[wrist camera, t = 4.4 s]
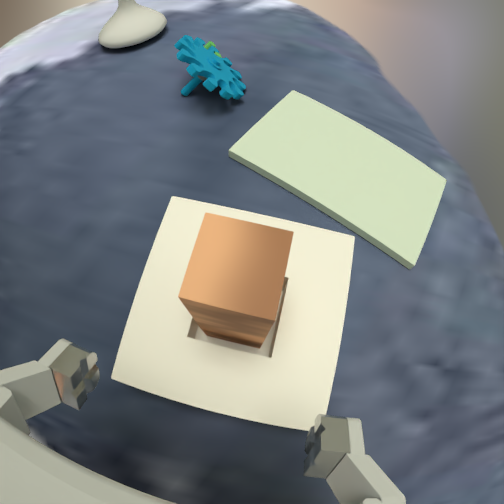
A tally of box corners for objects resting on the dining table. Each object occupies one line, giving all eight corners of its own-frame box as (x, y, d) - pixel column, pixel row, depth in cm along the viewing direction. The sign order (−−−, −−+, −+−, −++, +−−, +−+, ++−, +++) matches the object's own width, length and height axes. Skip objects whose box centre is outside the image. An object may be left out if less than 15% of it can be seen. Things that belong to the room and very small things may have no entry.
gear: (252, 107, 31) (177, 52, 25) (214, 138, 35) (141, 93, 28) (247, 63, 37) (188, 19, 30) (216, 90, 40) (158, 51, 34)
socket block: (130, 379, 22) (110, 378, 19) (180, 220, 28) (172, 196, 24) (308, 425, 21) (321, 432, 18) (340, 256, 27) (354, 236, 23)
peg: (206, 335, 23) (178, 296, 13) (220, 285, 24) (205, 212, 14) (259, 348, 23) (275, 320, 13) (271, 297, 24) (293, 231, 14)
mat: (229, 156, 30) (228, 150, 30) (292, 96, 34) (293, 90, 34) (409, 269, 26) (414, 265, 26) (442, 185, 31) (446, 180, 30)
